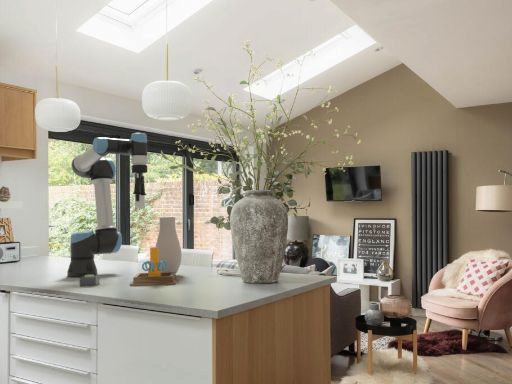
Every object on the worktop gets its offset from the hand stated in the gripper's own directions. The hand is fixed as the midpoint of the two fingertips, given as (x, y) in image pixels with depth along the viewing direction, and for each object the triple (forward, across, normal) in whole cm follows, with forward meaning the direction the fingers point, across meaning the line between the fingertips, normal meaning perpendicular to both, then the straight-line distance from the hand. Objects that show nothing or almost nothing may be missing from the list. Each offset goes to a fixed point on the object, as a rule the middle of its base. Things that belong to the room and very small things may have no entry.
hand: (140, 208), depth 249 cm
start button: (+33, +14, -21) cm, 42 cm away
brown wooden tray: (+35, +11, +8) cm, 37 cm away
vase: (+35, -14, +12) cm, 39 cm away
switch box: (+35, +14, -21) cm, 43 cm away
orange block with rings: (+34, +11, +8) cm, 36 cm away
